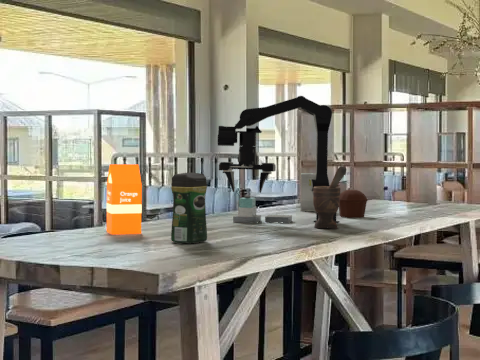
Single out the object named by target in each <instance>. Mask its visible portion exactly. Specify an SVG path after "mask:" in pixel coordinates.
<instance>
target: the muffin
mask: <svg viewBox="0 0 480 360" xmlns="http://www.w3.org/2000/svg"><path fill="white" fill-rule="evenodd" d="M368 200H369V199H368V198H367V196H366V195H365V194H364V192H362V191H361V190H358V189H345V190H343V191H342V192H340V203H339V207H338V212H339V213H338V214H339V217H340V216H341V218H346V217H347V219H348V218H350V219H361V218H365V215H366V208H367V203H368Z"/></svg>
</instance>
